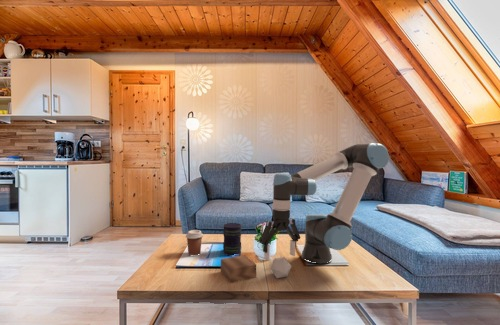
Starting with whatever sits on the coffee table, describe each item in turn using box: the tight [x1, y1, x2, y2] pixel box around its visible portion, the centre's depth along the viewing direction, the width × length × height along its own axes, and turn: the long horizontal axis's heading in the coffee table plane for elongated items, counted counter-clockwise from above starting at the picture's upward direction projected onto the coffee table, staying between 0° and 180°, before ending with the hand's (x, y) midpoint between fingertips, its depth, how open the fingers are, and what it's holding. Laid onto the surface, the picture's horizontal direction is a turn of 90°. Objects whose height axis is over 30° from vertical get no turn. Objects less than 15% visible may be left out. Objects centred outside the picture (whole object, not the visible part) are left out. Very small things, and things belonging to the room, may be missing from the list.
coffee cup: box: [185, 229, 204, 256], centre depth 143 cm, size 9×9×12 cm
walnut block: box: [220, 254, 257, 284], centre depth 119 cm, size 12×12×6 cm
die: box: [269, 256, 292, 279], centre depth 118 cm, size 8×9×10 cm
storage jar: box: [222, 222, 242, 256], centre depth 146 cm, size 10×10×15 cm
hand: (279, 257), depth 117 cm, fingers open, 13 cm apart
